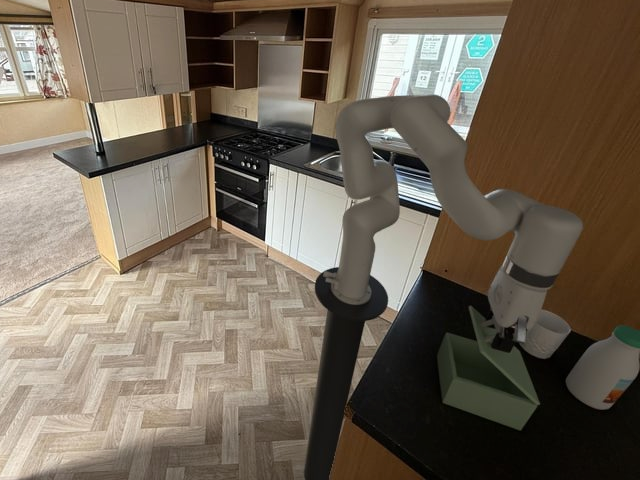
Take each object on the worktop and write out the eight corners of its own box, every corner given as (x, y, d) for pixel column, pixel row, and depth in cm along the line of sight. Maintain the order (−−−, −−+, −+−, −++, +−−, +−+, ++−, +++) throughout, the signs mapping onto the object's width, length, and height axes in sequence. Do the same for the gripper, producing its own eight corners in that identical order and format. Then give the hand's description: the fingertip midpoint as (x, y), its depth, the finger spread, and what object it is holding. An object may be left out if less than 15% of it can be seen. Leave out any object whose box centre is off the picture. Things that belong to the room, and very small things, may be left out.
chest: (442, 402, 70) (453, 378, 66) (436, 355, 81) (446, 332, 77) (520, 430, 65) (537, 406, 61) (503, 376, 76) (517, 352, 72)
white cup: (561, 361, 79) (580, 334, 75) (531, 361, 79) (547, 334, 75) (536, 334, 86) (552, 308, 82) (508, 334, 86) (522, 308, 82)
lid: (480, 352, 61) (506, 343, 58) (468, 306, 72) (489, 297, 69) (536, 405, 61) (565, 399, 58) (516, 352, 72) (540, 344, 69)
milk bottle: (581, 408, 69) (629, 348, 60) (556, 375, 76) (596, 316, 67) (620, 413, 68) (675, 353, 59) (591, 379, 75) (636, 320, 66)
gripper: (492, 241, 66) (467, 304, 74) (519, 295, 52) (484, 367, 60) (536, 249, 64) (505, 313, 71) (577, 308, 49) (532, 381, 57)
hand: (496, 337), depth 65 cm, fingers closed on lid, 5 cm apart
